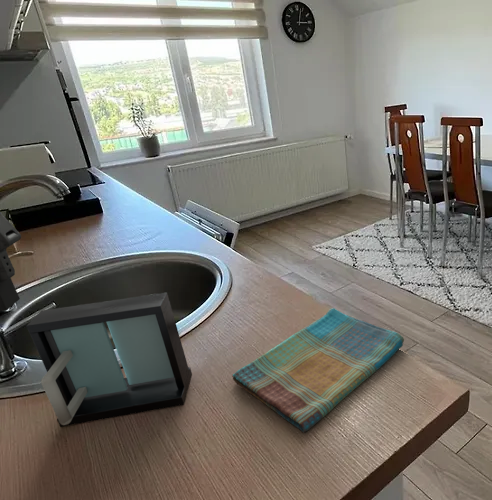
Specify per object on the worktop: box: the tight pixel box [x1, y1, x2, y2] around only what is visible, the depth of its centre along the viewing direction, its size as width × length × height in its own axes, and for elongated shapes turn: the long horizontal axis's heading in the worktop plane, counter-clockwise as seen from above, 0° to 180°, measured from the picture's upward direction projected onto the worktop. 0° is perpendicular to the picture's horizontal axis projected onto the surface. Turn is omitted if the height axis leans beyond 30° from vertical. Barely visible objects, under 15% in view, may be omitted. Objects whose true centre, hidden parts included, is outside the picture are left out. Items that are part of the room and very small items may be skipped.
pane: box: [40, 322, 128, 425], centre depth 57 cm, size 7×8×12 cm
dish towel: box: [232, 307, 405, 433], centre depth 67 cm, size 17×23×2 cm
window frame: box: [25, 292, 193, 428], centre depth 60 cm, size 17×7×16 cm, turn 100°
